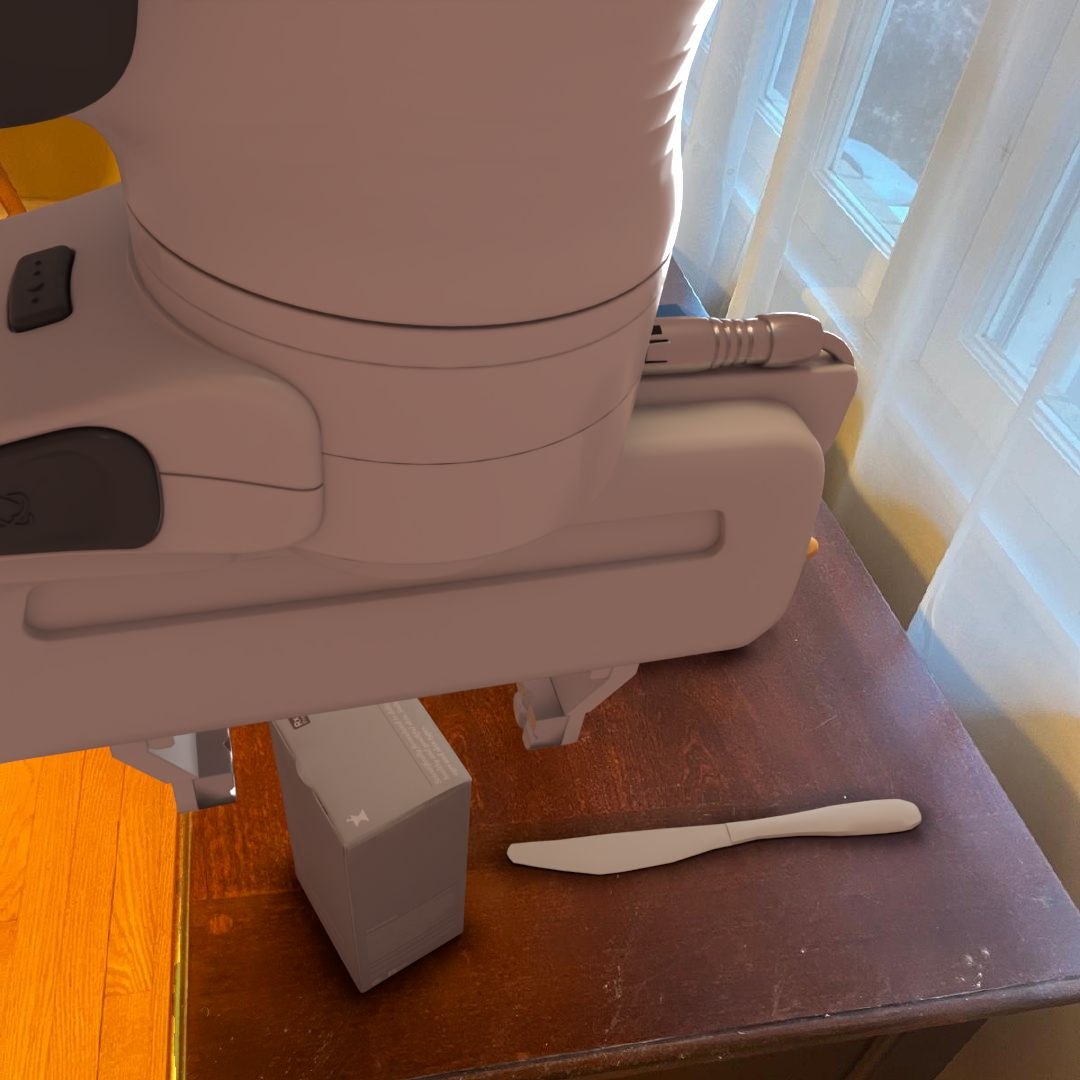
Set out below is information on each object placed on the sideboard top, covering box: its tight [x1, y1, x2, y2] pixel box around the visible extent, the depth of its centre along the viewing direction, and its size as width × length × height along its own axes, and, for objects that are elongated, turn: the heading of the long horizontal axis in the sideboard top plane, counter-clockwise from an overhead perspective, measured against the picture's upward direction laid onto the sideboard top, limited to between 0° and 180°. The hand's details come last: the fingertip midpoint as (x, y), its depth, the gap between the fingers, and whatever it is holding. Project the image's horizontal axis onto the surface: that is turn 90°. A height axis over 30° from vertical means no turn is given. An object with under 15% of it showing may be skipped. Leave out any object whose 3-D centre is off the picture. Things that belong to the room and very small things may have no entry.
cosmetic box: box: [267, 698, 473, 994], centre depth 49 cm, size 8×7×16 cm
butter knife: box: [506, 798, 923, 875], centre depth 60 cm, size 1×27×3 cm
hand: (383, 755), depth 28 cm, fingers open, 8 cm apart
